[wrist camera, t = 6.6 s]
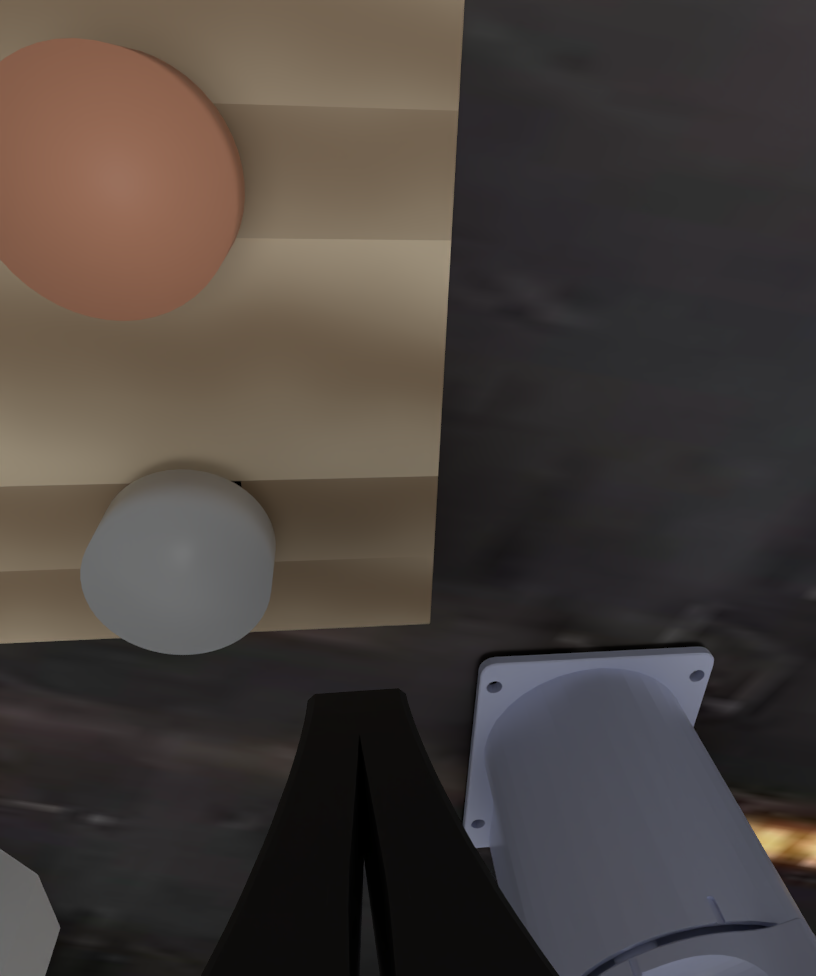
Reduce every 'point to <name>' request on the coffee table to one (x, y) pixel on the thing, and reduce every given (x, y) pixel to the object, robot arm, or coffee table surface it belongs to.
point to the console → (259, 317)
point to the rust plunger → (113, 179)
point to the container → (24, 921)
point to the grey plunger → (180, 563)
